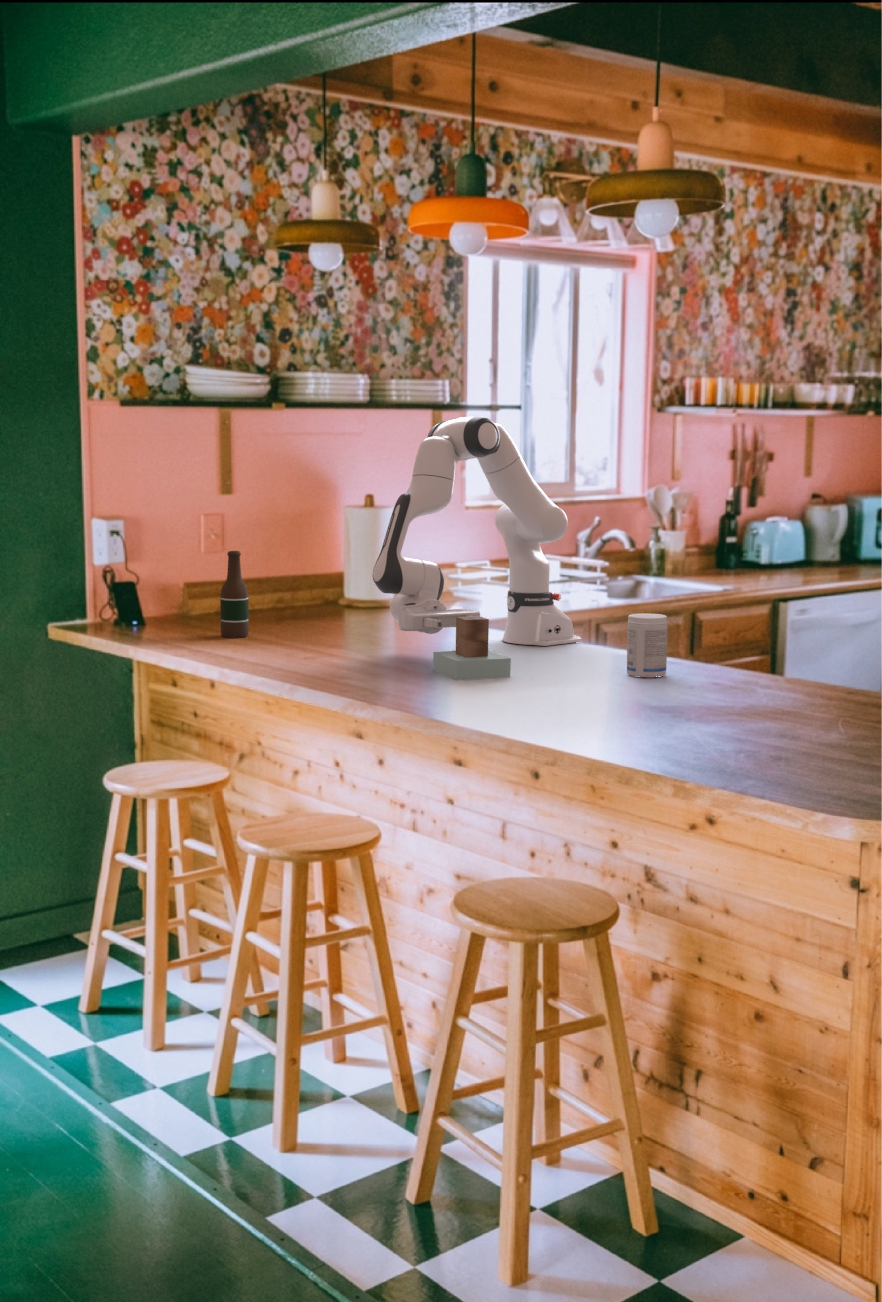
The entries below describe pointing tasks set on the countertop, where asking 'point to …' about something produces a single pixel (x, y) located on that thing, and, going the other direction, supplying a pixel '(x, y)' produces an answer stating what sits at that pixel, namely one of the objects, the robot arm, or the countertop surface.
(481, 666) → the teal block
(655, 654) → the supplement tub
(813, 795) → the countertop surface
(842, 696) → the countertop surface
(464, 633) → the walnut box
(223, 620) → the beer bottle
